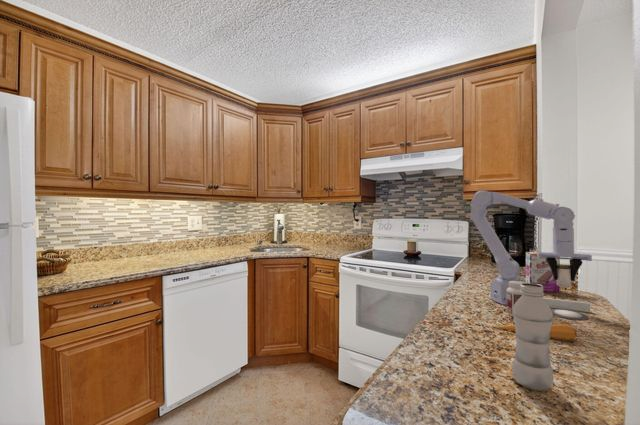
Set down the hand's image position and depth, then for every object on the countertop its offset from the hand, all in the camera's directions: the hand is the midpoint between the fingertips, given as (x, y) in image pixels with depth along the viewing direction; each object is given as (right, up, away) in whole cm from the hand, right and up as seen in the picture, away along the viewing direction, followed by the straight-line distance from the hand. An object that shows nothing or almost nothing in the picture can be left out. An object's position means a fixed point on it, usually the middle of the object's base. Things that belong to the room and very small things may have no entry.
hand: (563, 279), depth 102 cm
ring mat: (-3, -10, -5) cm, 12 cm away
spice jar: (0, -2, 0) cm, 2 cm away
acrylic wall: (+1, -10, +1) cm, 10 cm away
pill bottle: (-19, -11, -5) cm, 23 cm away
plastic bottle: (-43, -11, -44) cm, 63 cm away
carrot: (-26, -11, -19) cm, 34 cm away
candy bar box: (+11, -11, +25) cm, 29 cm away
